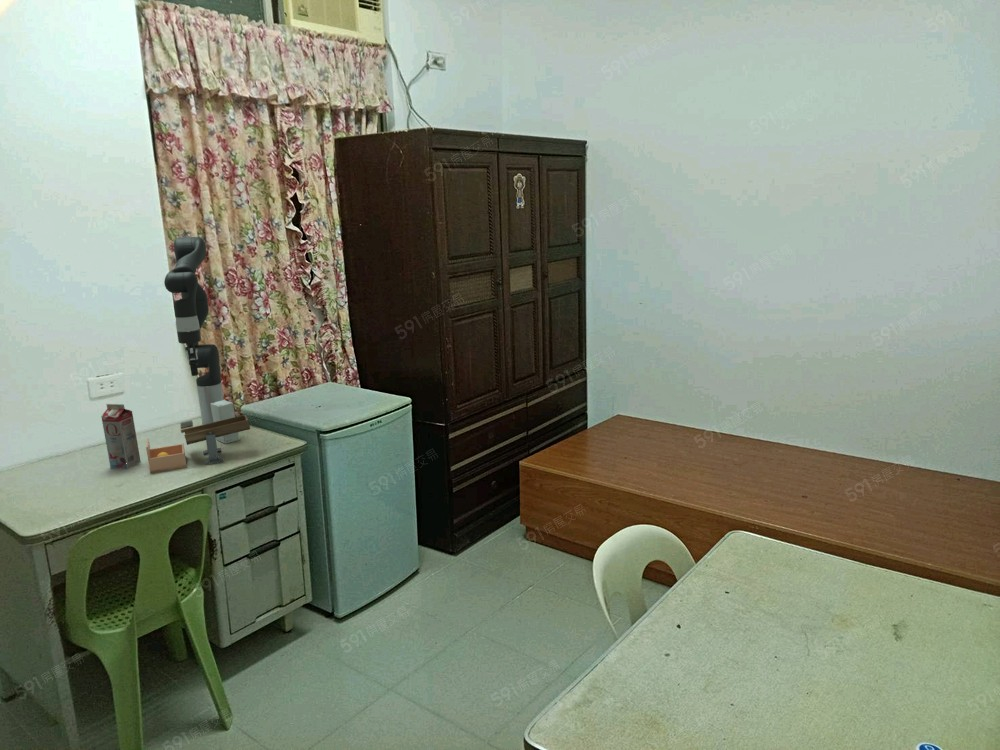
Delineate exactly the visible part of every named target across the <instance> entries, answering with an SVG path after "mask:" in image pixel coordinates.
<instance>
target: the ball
mask: <svg viewBox="0 0 1000 750" xmlns="http://www.w3.org/2000/svg"><path fill="white" fill-rule="evenodd" d="M167 455H168V454H167V453H166V452H161V453H159V454H158V455H157V457H161V456H167Z"/></svg>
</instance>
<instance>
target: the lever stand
mask: <svg viewBox="0 0 1000 750" xmlns="http://www.w3.org/2000/svg"><path fill="white" fill-rule="evenodd" d="M205 442H206V450H202V451H203V452H202V453H203V456H208V459H205V460H204V465H205V466H208V465H214V464H218V463H219V464H220V463H224V462H225V461H224V457H223V456H222V457H219V454H220V453H222V448H221V447H219V448H218V445H217V438H216V436H215V433H214V434H208V435H206V440H205Z"/></svg>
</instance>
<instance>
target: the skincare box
mask: <svg viewBox="0 0 1000 750" xmlns="http://www.w3.org/2000/svg"><path fill="white" fill-rule="evenodd" d="M210 405H211V410H212V416H213V421H214V422H217V421H221V420H225V419H229V418H233V417H236V413H235V407H234V402H230V401H228V400H225V399H224V400H222V401H218V402H214V403H211V404H210ZM216 441H219V442H221V443H223V444H229V443H232V442H233V443H234V442H238V441H240V436H239V432H237V433H233V434H229V435H225V436H221V437H217V438H216Z"/></svg>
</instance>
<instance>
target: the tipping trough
mask: <svg viewBox="0 0 1000 750" xmlns="http://www.w3.org/2000/svg"><path fill="white" fill-rule="evenodd" d="M179 425H180V432H181V434H183V433H184V439H185V443H186V445H187V446H188V445H192V444H197V443H200V442H204V441H205V442H206V435H208V434H214V433H215V436H216V439H217V437H221V436H225V435H229V434H233V433H237V432H238V433H241V432H245V431H248V430H249V431H250V430H251V427H250V423H249V418H248V416H247V414H241V415H238V416H235V417H233V418H229V419H225V420H221V421H217V422H213V423H208V424H204V425H203V424H200V425H196V426H194V424H193V420H192V419H191V420H188V421H187V420H186V421H182V422H180V424H179Z"/></svg>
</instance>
